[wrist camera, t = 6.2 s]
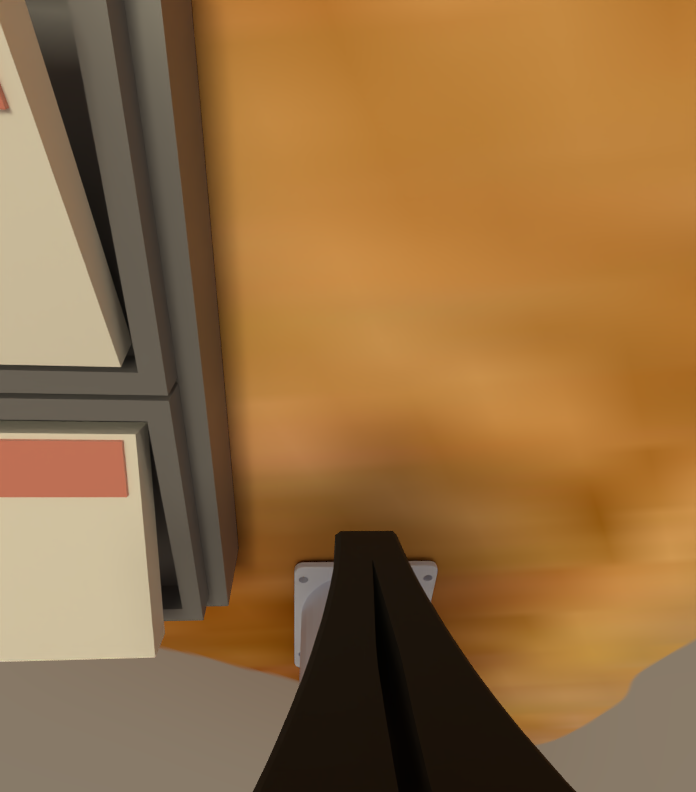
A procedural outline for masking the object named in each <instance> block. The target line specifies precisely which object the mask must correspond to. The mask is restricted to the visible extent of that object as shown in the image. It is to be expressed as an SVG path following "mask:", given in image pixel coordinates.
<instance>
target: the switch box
mask: <svg viewBox="0 0 696 792" xmlns="http://www.w3.org/2000/svg"><path fill="white" fill-rule="evenodd" d="M25 2H26V6H27V9H28V12H29V15H30V18H31V22H32V25H33V28H34V31H35V34H36V37H37V41H38V44H39V47H40V50H41V53H42V57H43V60H44V63H45V66H46V69H47V73H48V76H49V79H50V82H51V85H52V88H53V92H54V95H55V98H56V101H57V104H58V108H59V111H60V114H61V117H62V120H63V124H64V127H65V130H66V133H67V136H68V139H69V143H70V146H71V149H72V152H73V155H74V159H75V162H76V165H77V168H78V171H79V175H80V178H81V181H82V184H83V187H84V190H85V194H86V197H87V200H88V203H89V206H90V210H91V213H92V216H93V219H94V222H95V226H96V229H97V232H98V235H99V238H100V241H101V245H102V248H103V251H104V254H105V257H106V261H107V264H108V267H109V270H110V273H111V276H112V280H113V283H114V286H115V289H116V292H117V296H118V299H119V302H120V305H121V308H122V312H123V315H124V318H125V321H126V324H127V327H128V331H129V334H130V337H131V340H132V344H131V346H130V348H129V351H128V353H127V355H126V357H125V359H124V362H123V364H122V366H121V367H94V366H47V365H1V364H0V421H76V422H147V423H148V432H149V445H150V457H151V470H152V482H153V494H154V507H155V519H156V531H157V544H158V556H159V569H160V581H161V593H162V606H163V618H164V621H185V620H204V615H205V611H206V606H228V605H229V599H230V593H231V588H232V582H233V576H234V571H235V565H236V559H237V554H238V548H239V547H238V536H237V524H236V513H235V501H234V490H233V478H232V466H231V455H230V443H229V432H228V420H227V408H226V397H225V385H224V374H223V362H222V351H221V339H220V327H219V316H218V304H217V293H216V281H215V270H214V258H213V246H212V235H211V223H210V212H209V200H208V189H207V177H206V165H205V154H204V142H203V131H202V119H201V108H200V96H199V84H198V73H197V61H196V50H195V38H194V27H193V15H192V3H191V0H25Z"/></svg>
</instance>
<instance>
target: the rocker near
mask: <svg viewBox="0 0 696 792" xmlns="http://www.w3.org/2000/svg"><path fill="white" fill-rule="evenodd" d="M131 344H132V340H131V337H130V334H129V331H128V327H127V324H126V321H125V318H124V315H123V312H122V308H121V305H120V302H119V299H118V296H117V292H116V289H115V286H114V283H113V280H112V276H111V273H110V270H109V267H108V264H107V261H106V257H105V254H104V251H103V248H102V245H101V241H100V238H99V235H98V232H97V229H96V226H95V222H94V219H93V216H92V213H91V210H90V206H89V203H88V200H87V197H86V194H85V190H84V187H83V184H82V181H81V178H80V175H79V171H78V168H77V165H76V162H75V159H74V155H73V152H72V149H71V146H70V143H69V139H68V136H67V133H66V130H65V127H64V124H63V120H62V117H61V114H60V111H59V108H58V104H57V101H56V98H55V95H54V92H53V88H52V85H51V82H50V79H49V76H48V73H47V69H46V66H45V63H44V60H43V57H42V53H41V50H40V47H39V44H38V41H37V37H36V34H35V31H34V28H33V25H32V22H31V18H30V15H29V12H28V9H27V6H26V2H25V0H0V364H1V365H47V366H94V367H121V366H122V364H123V362H124V359H125V357H126V355H127V353H128V351H129V348H130V346H131Z"/></svg>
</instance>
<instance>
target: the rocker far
mask: <svg viewBox="0 0 696 792" xmlns="http://www.w3.org/2000/svg"><path fill="white" fill-rule="evenodd" d="M164 634H165V630H164V618H163V606H162V593H161V581H160V569H159V556H158V544H157V531H156V519H155V507H154V494H153V482H152V470H151V457H150V445H149V432H148V423H147V422H76V421H0V662H4V661H5V662H6V661H42V660H78V659H113V658H114V659H116V658H149V657H150V658H153V657H156V654H157V652H158V649H159V647H160V644H161V642H162V639H163V637H164Z"/></svg>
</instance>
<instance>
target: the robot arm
mask: <svg viewBox="0 0 696 792" xmlns="http://www.w3.org/2000/svg"><path fill="white" fill-rule="evenodd" d="M437 572H438V569H437V565H436V563H435V562H433V561H408V559H407V557H406V555H405V553H404V551H403V549H402V547H401V544H400V542H399V540H398V537H397V535H396V534H395V533H394V532H393V531H340V532H339V533H338V534H336V535H335V550H334V562H302V563H299V564H297V565H296V566H295V570H294V658H295V665H296V666H297V667H300V683H299V688H298V690H297V693H296V695H295V698H294V701H293V703H292V706H291V708H290V711H289V713H288V715H287V718H286V720H285V722H284V725H283V727H282V729H281V732H280V734H279V736H278V739H277V741H276V743H275V746H274V748H273V750H272V753H271V755H270V757H269V759H268V761H267V763H266V766H265V768H264V770H263V772H262V774H261V776H260V778H259V780H258V782H257V784H256V787H255V789H254V791H253V792H576V791H575V790H574V789H573V788H572V787H571V786H570V785H569V784H568V783H567V782H566V781H565V780H564V778H563V777H562V776H561V775H560V774H559V773H558V771H557V770H556V769H555V768H554V767H553V766H552V765H551V763H550V762H549V761H548V760H547V759H546V758H545V757H544V755H543V754H542V753H541V752H540V751H539V750H538V749H537V747H536V746H535V745H534V744H533V743H532V742H531V741H530V739H529V738H528V737H527V736H526V735H525V734H524V733H523V731H522V730H521V729H520V728H519V727H518V725H517V724H516V723H515V722H514V720H513V719H512V718H511V717H510V715H509V714H508V713H507V712H506V710H505V709H504V708H503V707H502V705H501V704H500V703H499V702H498V700H497V699H496V698H495V696H494V695H493V694H492V692H491V691H490V690H489V688H488V687H487V686H486V685H485V683H484V682H483V681H482V679H481V678H480V676H479V675H478V674H477V672H476V671H475V670H474V668H473V667H472V665H471V664H470V662H469V661H468V660H467V658H466V657H465V655H464V654H463V652H462V651H461V649H460V648H459V646H458V645H457V643H456V642H455V640H454V639H453V637H452V636H451V634H450V633H449V631H448V630H447V628H446V626H445V625H444V623H443V622H442V620H441V618H440V617H439V615H438V613H437V612H436V610H435V608H434V607H433V605H432V603H431V599H432V595H433V590H434V586H435V581H436V577H437Z"/></svg>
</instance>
